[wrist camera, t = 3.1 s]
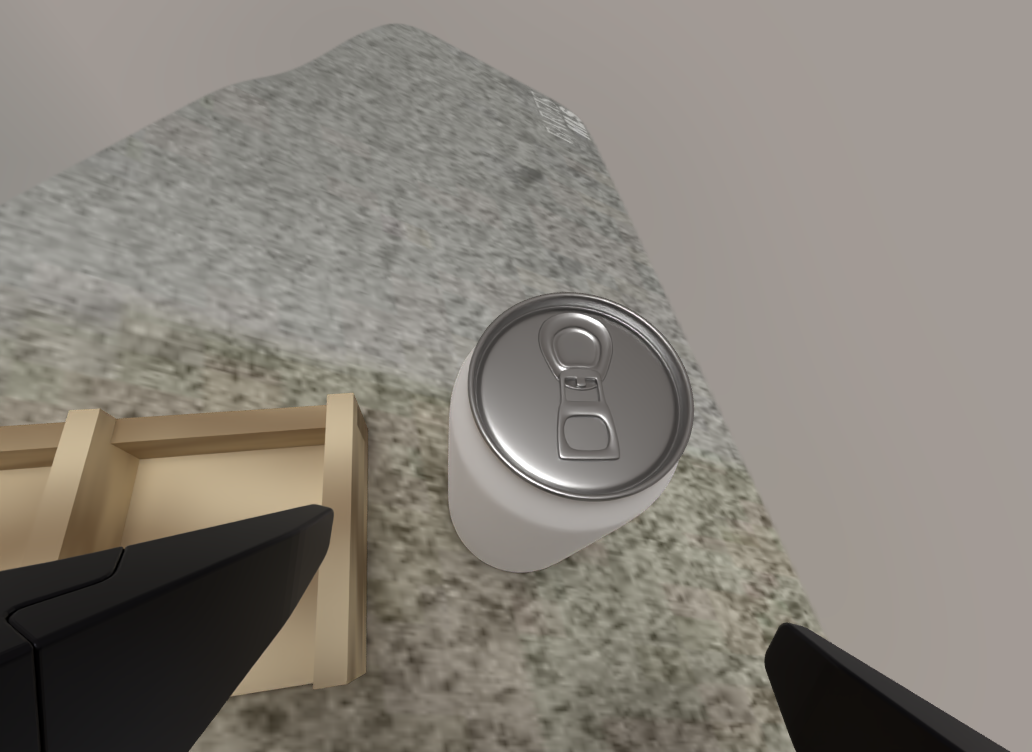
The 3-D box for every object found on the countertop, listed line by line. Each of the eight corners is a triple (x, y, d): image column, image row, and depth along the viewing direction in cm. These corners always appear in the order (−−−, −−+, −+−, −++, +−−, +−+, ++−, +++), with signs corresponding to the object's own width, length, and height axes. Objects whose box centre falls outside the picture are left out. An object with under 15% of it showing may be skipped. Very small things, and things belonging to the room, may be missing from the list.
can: (579, 433, 24) (682, 284, 14) (594, 572, 21) (741, 518, 11) (449, 433, 23) (451, 272, 13) (446, 577, 20) (445, 524, 10)
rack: (365, 673, 18) (347, 684, 15) (-261, 773, 15) (-478, 818, 12) (367, 428, 23) (353, 392, 19) (-116, 465, 19) (-240, 429, 16)
